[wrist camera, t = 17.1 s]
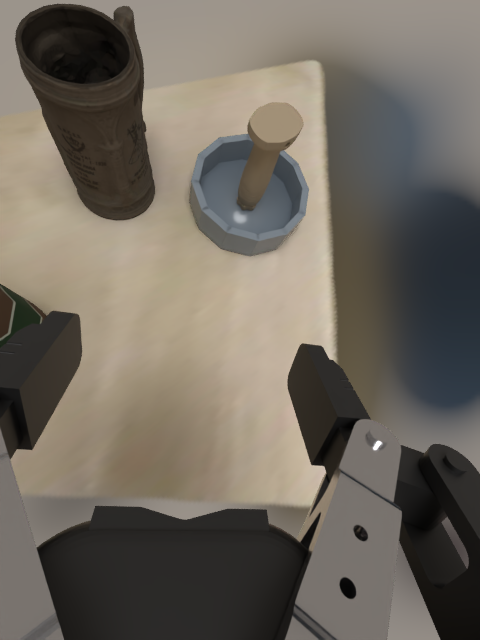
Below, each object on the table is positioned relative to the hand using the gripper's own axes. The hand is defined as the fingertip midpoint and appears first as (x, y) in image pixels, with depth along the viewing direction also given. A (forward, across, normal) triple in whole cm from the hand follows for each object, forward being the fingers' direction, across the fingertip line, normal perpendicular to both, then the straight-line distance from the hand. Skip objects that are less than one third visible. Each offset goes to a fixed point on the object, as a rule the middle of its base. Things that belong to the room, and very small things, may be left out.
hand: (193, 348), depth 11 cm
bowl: (+42, -7, +2) cm, 42 cm away
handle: (+41, -7, +1) cm, 41 cm away
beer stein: (+42, +12, +1) cm, 44 cm away
